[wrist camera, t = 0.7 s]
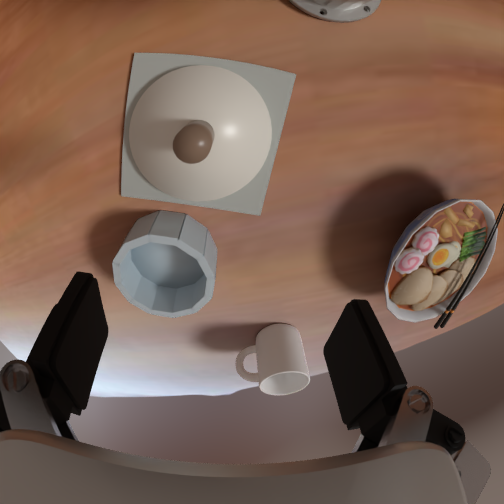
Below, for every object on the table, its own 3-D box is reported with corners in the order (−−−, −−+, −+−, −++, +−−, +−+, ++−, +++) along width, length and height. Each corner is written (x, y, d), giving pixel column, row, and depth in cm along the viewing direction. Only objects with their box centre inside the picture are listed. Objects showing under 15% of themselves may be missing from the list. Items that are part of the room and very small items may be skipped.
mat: (135, 53, 23) (134, 52, 23) (295, 74, 26) (296, 74, 26) (122, 194, 33) (121, 196, 33) (259, 214, 36) (260, 215, 36)
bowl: (125, 205, 34) (109, 228, 29) (222, 219, 36) (221, 244, 31) (128, 281, 41) (118, 308, 36) (210, 293, 43) (208, 322, 38)
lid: (141, 61, 23) (121, 58, 19) (285, 80, 26) (296, 79, 21) (128, 189, 32) (111, 211, 27) (254, 207, 35) (257, 231, 30)
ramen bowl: (398, 152, 32) (434, 174, 25) (490, 190, 35) (519, 212, 28) (343, 296, 45) (358, 333, 39) (435, 298, 48) (453, 326, 42)
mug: (237, 353, 53) (239, 399, 44) (231, 326, 48) (232, 377, 39) (299, 346, 52) (308, 391, 44) (300, 318, 48) (311, 368, 39)
